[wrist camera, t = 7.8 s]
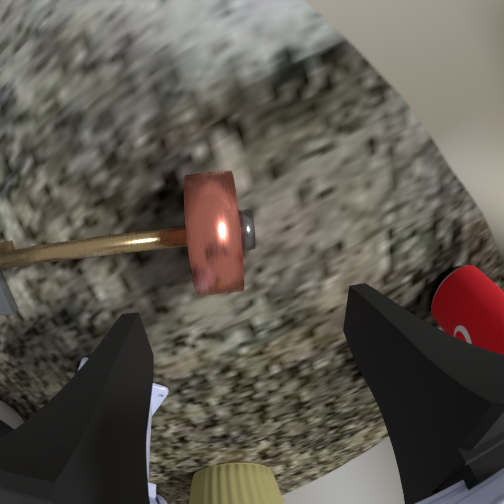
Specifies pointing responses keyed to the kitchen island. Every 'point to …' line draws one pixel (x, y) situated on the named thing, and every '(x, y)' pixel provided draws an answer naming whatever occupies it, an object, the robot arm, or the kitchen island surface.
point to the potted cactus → (235, 485)
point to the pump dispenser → (8, 419)
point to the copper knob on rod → (173, 237)
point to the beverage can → (471, 308)
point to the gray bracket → (6, 298)
